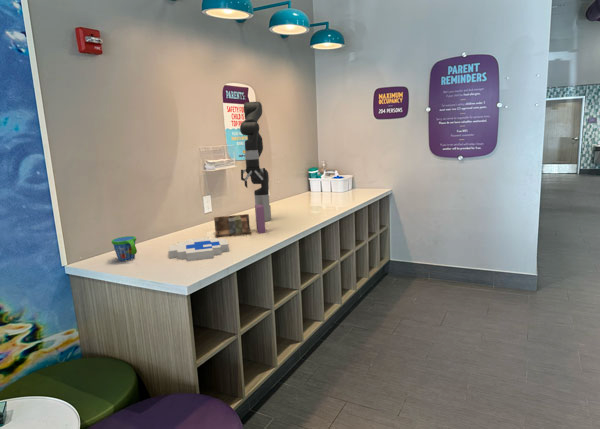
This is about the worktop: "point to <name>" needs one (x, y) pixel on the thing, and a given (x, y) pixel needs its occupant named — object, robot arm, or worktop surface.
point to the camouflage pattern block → (232, 225)
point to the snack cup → (125, 247)
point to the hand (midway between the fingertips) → (254, 187)
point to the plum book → (260, 218)
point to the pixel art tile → (198, 248)
